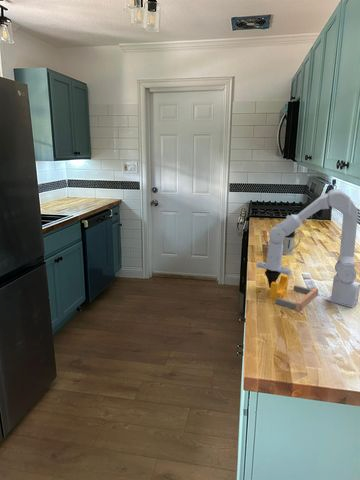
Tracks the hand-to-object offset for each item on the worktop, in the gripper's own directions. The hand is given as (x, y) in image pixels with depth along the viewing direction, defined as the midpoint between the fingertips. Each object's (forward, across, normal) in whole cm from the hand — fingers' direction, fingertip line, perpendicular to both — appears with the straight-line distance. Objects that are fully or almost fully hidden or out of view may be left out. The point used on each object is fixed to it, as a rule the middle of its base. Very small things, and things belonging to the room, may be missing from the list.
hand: (271, 287), depth 141 cm
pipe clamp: (+2, -4, 0) cm, 5 cm away
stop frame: (+2, -11, 0) cm, 11 cm away
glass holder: (+2, +17, -57) cm, 59 cm away
